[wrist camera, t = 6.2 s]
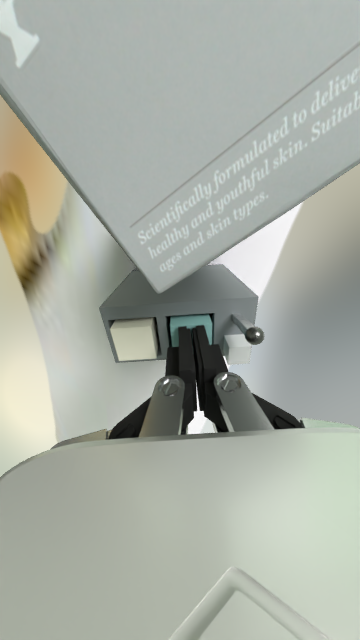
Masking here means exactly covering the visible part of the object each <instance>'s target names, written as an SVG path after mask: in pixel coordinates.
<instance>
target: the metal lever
mask: <svg viewBox="0 0 360 640" xmlns="http://www.w3.org/2000/svg"><path fill="white" fill-rule="evenodd" d="M232 321H233V322H234V324H235V325H236V326H237V327H238V328H239V329H240V331H241V332H242V333H243V334H244V335H245V339H246V341H247V342H248V343H250V344H252V345H257V344H260V343H261V342H262V341H263V340H264V332H263V331H262V330H261V329H260V328H258V327H255V326H254V325H253V324H252V323H251V322H249V321H248V320H247V319H246V318H245V317H244V316H243V315H242V314H240V313H234V314H232Z"/></svg>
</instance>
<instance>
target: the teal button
mask: <svg viewBox="0 0 360 640" xmlns="http://www.w3.org/2000/svg"><path fill="white" fill-rule="evenodd" d="M198 325H204V326H205V329H206V333H207V337H208V340H209V344H210V345H212V322H211V319H210V316H209V313H204V314H190V315H175V316H171V319H170V331H171V340H172V347H179V337H178V327H183V326H187V328H190V331H191V339H192V347H193V328H196V326H198ZM193 354H194V351H193Z"/></svg>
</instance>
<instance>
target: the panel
mask: <svg viewBox="0 0 360 640" xmlns="http://www.w3.org/2000/svg"><path fill="white" fill-rule="evenodd" d="M257 303H258V296H257V295H256V294H255V293H254V292H253V291H251V290H250V289H249V288H248V287H247V286H246V285H245V284H244V283H243V282H242V281H240V280H239V279H238V278H237V277H236V276H235V275H234V274H233V273H232V272H231V271H230V270H228V269H227V268H226V267H225V266H224V265H223V264H218V265H205V266H203V267H202V268H200V269H199V270H197V271H196V272H194V273H193V274H191V275H189V276H188V277H186V278H185V279H183V280H182V281H180V282H178V283H177V284H175V285H174V286H172V287H170V288H169V289H167V290H166V291H164V292H162V293H160V294H159V293H157V292H156V291H155V290H154V289H153V288H152V286H151V285H150V284H149V283H148V281H147V280H146V279H145V277H144V276H143V275H142V274H141V272H140V271H139V270H135V271H132V272H131V273H130V274H129V275H128V276H127V277H126V279H125V280H124V281H123V282H122V283H121V284H120V285H119V286H118V287H117V289H116V290H115V291H114V292H113V293H112V294H111V295H110V296H109V297H108V299H107V300H106V301H105V302H104V303H103V304H102V305H101V306H100V307H99V309H100V312H101V316H102V319H103V322H104V326H105V329H106V332H107V335H108V339H109V342H110V345H111V349H112V352H113V355H114V359H115V362H116V363H119V362H134V361H150V360H166V359H167V348H168V347H172V340H171V331H170V319H171V316H175V315H190V314H204V313H209V316H210V319H211V322H212V344H219V346H220V349H221V352H222V355H223V356H225V355H224V352H223V347H224V335H238V334H243V333H242V332H241V331H240V329H239V328H238V327H237V326H236V325H235V324H234V322H233V321H232V314H234V313H240V314H242V315H243V316H244V317H245V318H246V319H247V320H248V321H249V322H251V323H252V324H253V325H254V324H255V317H256V310H257ZM145 317H156V319H157V325H158V332H159V344H158V351H157V358H156V359H143V360H127V361H119V359H118V355H117V352H116V348H115V345H114V342H113V338H112V335H111V331H110V328H111V326H112V325H113V323H114V322H115V320H116V319H131V318H145ZM251 345H252V344H251Z"/></svg>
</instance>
